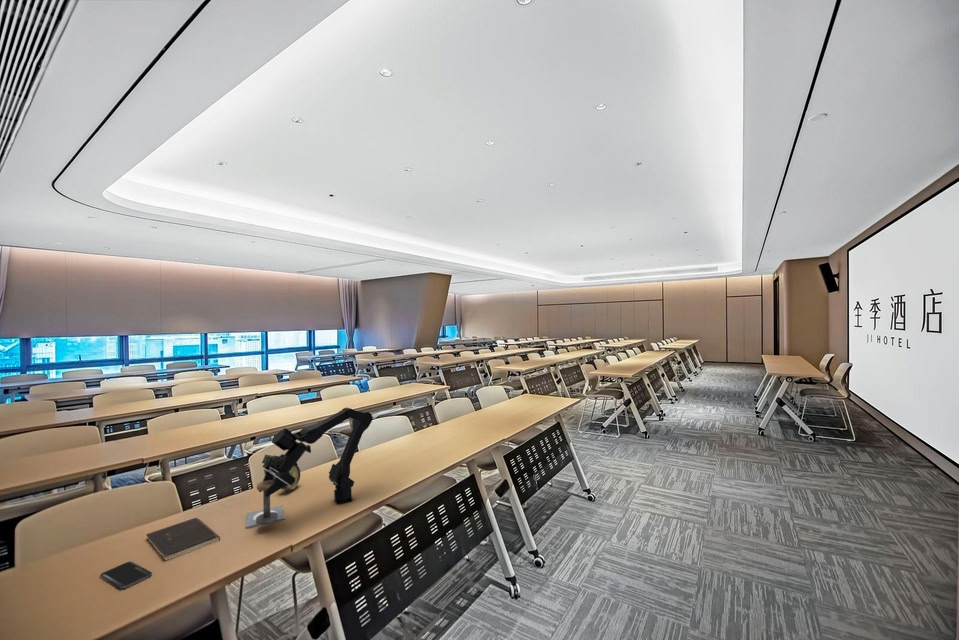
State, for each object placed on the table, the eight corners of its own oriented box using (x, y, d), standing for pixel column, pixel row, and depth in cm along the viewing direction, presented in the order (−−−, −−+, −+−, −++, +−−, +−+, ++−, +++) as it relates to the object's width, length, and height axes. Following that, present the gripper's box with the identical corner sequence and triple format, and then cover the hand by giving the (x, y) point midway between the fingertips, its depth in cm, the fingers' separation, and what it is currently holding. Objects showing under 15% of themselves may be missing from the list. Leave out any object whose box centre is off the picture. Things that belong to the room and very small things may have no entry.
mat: (282, 506, 167) (282, 505, 167) (284, 519, 156) (284, 517, 156) (246, 514, 161) (246, 512, 161) (245, 528, 149) (245, 526, 149)
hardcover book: (164, 563, 129) (164, 556, 129) (146, 540, 144) (146, 534, 144) (220, 541, 142) (220, 535, 142) (198, 522, 156) (198, 516, 156)
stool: (277, 514, 154) (277, 478, 154) (277, 522, 147) (276, 484, 148) (256, 518, 151) (256, 481, 151) (255, 527, 144) (254, 488, 145)
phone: (121, 588, 115) (98, 574, 122) (121, 592, 115) (99, 577, 122) (153, 573, 122) (130, 560, 129) (153, 576, 122) (130, 563, 129)
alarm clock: (285, 496, 177) (285, 460, 177) (275, 495, 178) (274, 459, 179) (301, 486, 188) (300, 452, 188) (291, 485, 189) (290, 451, 189)
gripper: (267, 441, 159) (237, 477, 151) (285, 450, 146) (253, 490, 138) (288, 455, 164) (260, 491, 156) (307, 466, 152) (278, 505, 144)
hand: (262, 494), depth 148 cm, fingers closed on stool, 6 cm apart
